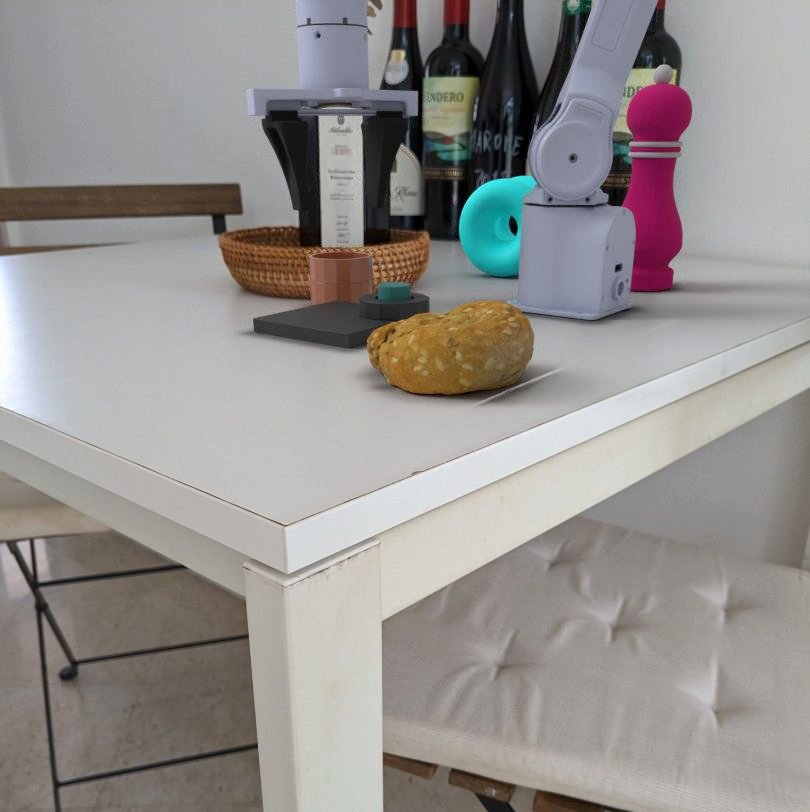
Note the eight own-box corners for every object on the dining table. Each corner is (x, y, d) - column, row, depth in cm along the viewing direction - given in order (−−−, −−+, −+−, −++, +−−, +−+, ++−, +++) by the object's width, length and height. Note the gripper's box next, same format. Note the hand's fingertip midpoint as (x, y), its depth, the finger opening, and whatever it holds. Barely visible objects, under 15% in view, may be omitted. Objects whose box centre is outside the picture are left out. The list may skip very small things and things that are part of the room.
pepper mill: (685, 284, 89) (714, 64, 80) (664, 294, 83) (692, 60, 75) (618, 279, 92) (639, 68, 84) (593, 288, 87) (613, 63, 78)
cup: (385, 305, 79) (384, 254, 77) (345, 314, 75) (343, 261, 73) (339, 299, 82) (337, 250, 80) (298, 308, 78) (295, 256, 76)
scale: (441, 327, 70) (442, 295, 69) (357, 351, 62) (356, 316, 61) (342, 312, 76) (341, 283, 75) (253, 333, 68) (251, 301, 67)
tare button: (417, 300, 69) (417, 283, 68) (397, 305, 67) (397, 287, 66) (391, 297, 70) (391, 280, 70) (371, 302, 68) (371, 284, 68)
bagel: (428, 352, 62) (428, 284, 60) (561, 377, 55) (567, 301, 53) (332, 381, 55) (329, 304, 53) (473, 412, 48) (475, 327, 46)
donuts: (565, 268, 100) (572, 175, 95) (541, 281, 91) (547, 180, 87) (484, 264, 103) (487, 174, 99) (454, 275, 95) (456, 178, 91)
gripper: (259, 19, 63) (272, 215, 69) (434, 27, 69) (433, 208, 74) (234, 28, 69) (248, 209, 75) (397, 35, 74) (399, 203, 80)
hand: (338, 208), depth 75 cm, fingers open, 6 cm apart
